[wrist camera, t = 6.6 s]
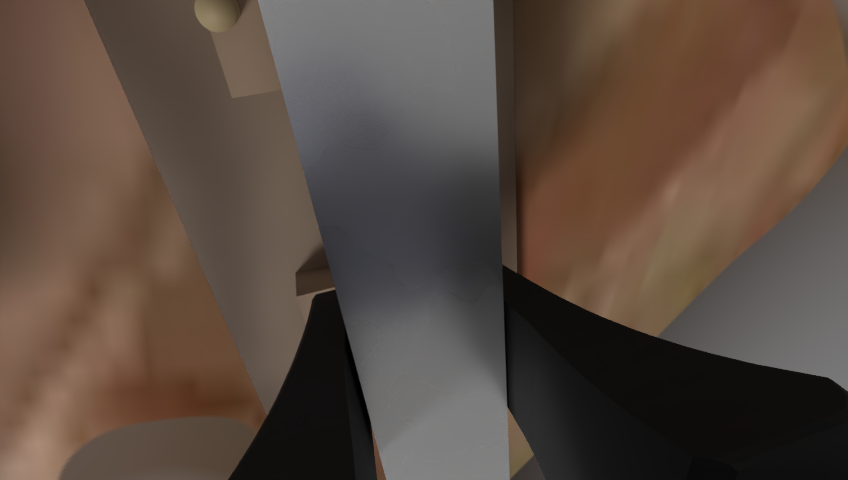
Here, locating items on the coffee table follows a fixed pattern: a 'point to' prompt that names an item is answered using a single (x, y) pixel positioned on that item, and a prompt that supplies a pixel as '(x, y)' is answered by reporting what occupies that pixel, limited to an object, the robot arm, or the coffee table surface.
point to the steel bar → (407, 214)
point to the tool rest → (249, 160)
